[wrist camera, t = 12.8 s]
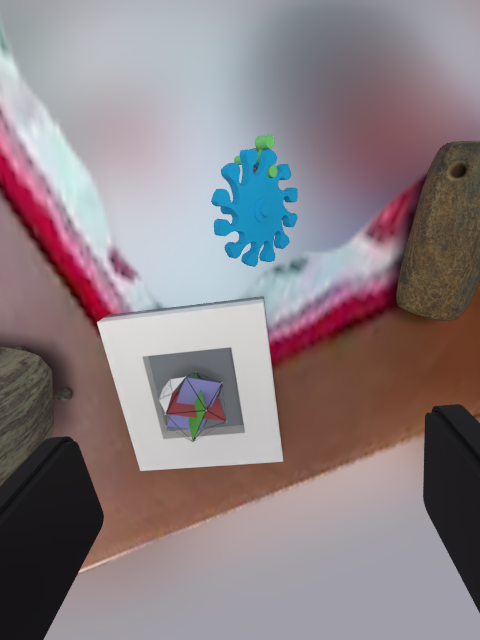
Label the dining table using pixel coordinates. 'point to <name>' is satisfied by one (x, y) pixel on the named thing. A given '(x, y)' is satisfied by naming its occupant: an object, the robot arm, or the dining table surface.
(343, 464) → the dining table surface
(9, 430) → the tabletop clock
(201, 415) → the geometric puzzle
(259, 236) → the gear
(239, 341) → the square picture frame
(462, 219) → the stone weight
